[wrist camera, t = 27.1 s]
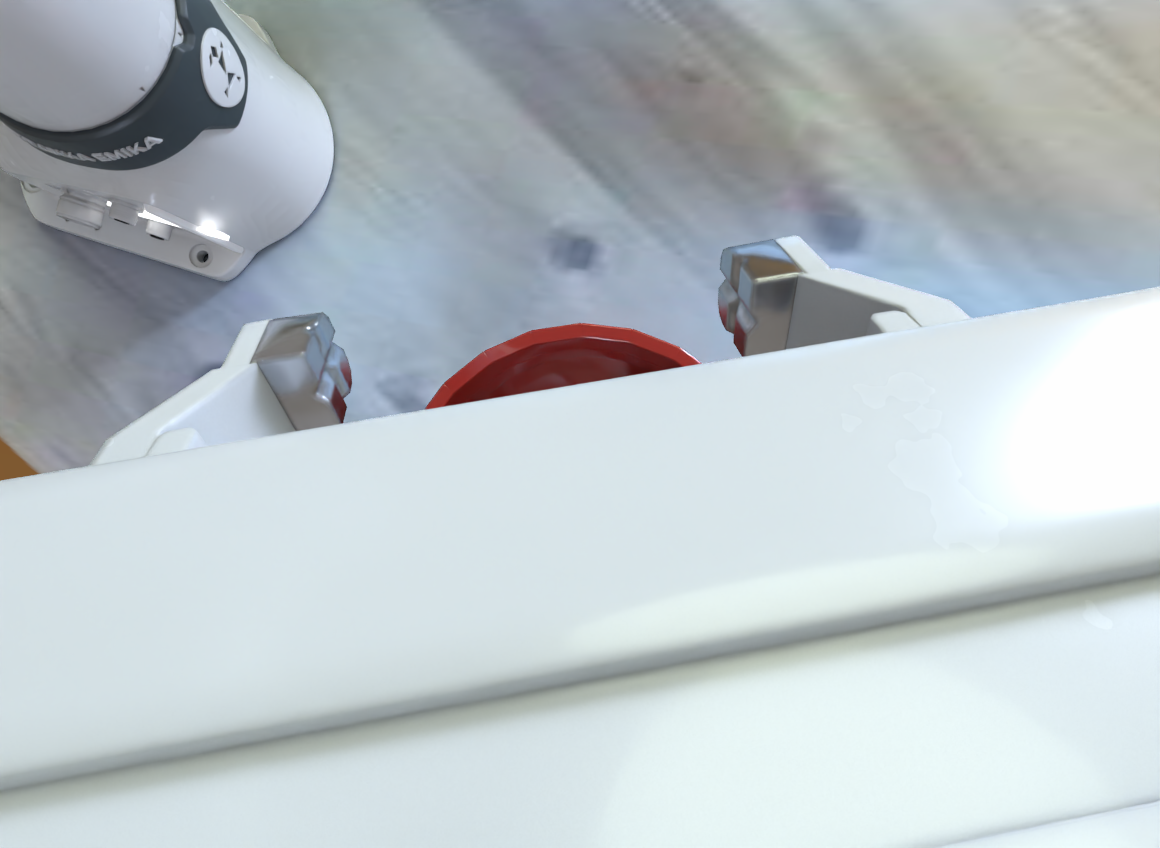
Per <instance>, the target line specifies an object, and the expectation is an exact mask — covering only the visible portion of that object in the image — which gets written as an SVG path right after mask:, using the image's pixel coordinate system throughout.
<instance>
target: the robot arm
mask: <svg viewBox="0 0 1160 848" xmlns="http://www.w3.org/2000/svg"><path fill="white" fill-rule="evenodd" d="M333 158H334V141H333V133H332V128H331V124H330V120H329V117H328V114H327V112H326V109H325V107H324V105H323V103H322V101H321V100H320V98H319V96H318V95H317V93H316V92H315V90H314V89H313V88H312V87H311V85H310V84H309V83H308V82H307V81H306V80H305V79H304V78H303V77H302V76H301V75H300V74H298V73H297V72H296V71H295V70H294V69H292V68H291V67H290V66H289V65H288V64H287V63H285V62H284V61H283V60H282V58H281V57H280V56H279V54H278V52H277V50H276V48H275V46H274V44H273V42H272V40H271V38H270V37H269V35H268V33H267V32H266V30H265V29H264V28H263V27H262V26H261V25H260V24H259V23H258V22H257V21H256V20H255V19H254V18H252V17H251V16H249V15H244V14H239V15H237V14H236V13H235V12H234V11H233V10H232V9H231V8H230V7H229V6H228V5H226V4H225V3H224V2H223V1H222V0H0V167H1V168H2V169H3V170H4V171H5V172H6V173H8V174H10V175H12V176H14V177H16V178H18V179H20V183H21V188H22V191H23V195H24V198H25V200H26V203H27V205H28V207H29V209H30V211H31V213H32V215H33V217H34V218H35V219H36V220H38V221H40V222H42V223H44V224H46V225H48V226H50V227H52V228H55V229H58V230H61V231H64V232H67V233H70V234H74V235H77V236H80V237H83V238H86V239H89V240H92V241H96V242H99V243H102V244H105V245H108V246H111V247H115V248H118V249H121V250H124V251H127V252H130V253H133V254H137V255H140V256H143V257H146V258H149V259H152V260H155V261H159V262H162V263H165V264H168V265H171V266H174V267H178V268H181V269H184V270H187V271H190V272H193V273H196V274H200V275H203V276H206V277H209V278H212V279H215V280H219V281H229V280H231V279H233V278H235V277H236V276H237V275H238V274H240V273H241V272H242V270H243V269H244V268H245V267H246V266H247V265H248V264H249V262H250V261H251V260H252V259H253V257H254V256H255V255H256V253H258V252H259V251H260V250H262V249H263V248H265V247H267V246H268V245H270V244H272V243H274V242H276V241H278V240H280V239H282V238H284V237H285V236H287V235H288V234H290V233H291V232H293V231H294V230H295V229H296V228H298V227H299V226H300V225H301V224H302V223H303V222H304V221H305V220H306V219H307V218H308V217H309V216H310V215H311V213H312V212H313V211H314V209H315V208H316V207H317V205H318V203H319V202H320V200H321V198H322V196H323V194H324V192H325V190H326V188H327V185H328V182H329V179H330V176H331V171H332V166H333ZM206 254H208V255H209V257H208V260H207V261H206V262H204V261H203V257H204V256H205V255H206ZM720 270H721V271H722V273H723V274H724V276H725V277H726V279H725V280H724V282H723V283H722V285H721V286H720V287H719V293H718V305H719V313H720V317H721V320H722V323H723V325H724V327H725V329H726V331H729V332H731V333H733V334H734V344H735V346H736V347H737V349H738V351H739V352H740V354H741V355H742V357H738V358H733V359H727V360H721V361H715V362H709V363H703V364H697V365H691V366H685V367H679V368H673V369H667V370H661V371H655V372H649V373H643V374H637V375H631V376H625V377H619V378H613V379H607V380H601V381H595V382H589V383H583V384H577V385H571V386H565V387H559V388H553V389H547V390H541V391H535V392H529V393H523V394H517V395H511V396H505V397H499V398H493V399H487V400H481V401H475V402H469V403H463V404H457V405H451V406H445V407H439V408H433V409H427V410H421V411H415V412H409V413H403V414H397V415H391V416H385V417H379V418H373V419H367V420H361V421H355V422H349V423H343V420H344V416H345V412H346V408H347V406H346V404H345V402H344V400H343V399H344V398H345V397H346V396H347V395H348V394H349V393H350V390H351V385H352V379H351V369H350V366H349V362H348V359H347V357H346V354H345V352H344V350H343V349H342V348H341V347H339V346H338V345H336V344H335V343H333V342H332V340H333V337H334V333H335V330H334V328H333V326H332V324H331V321H330V319H329V317H328V316H327V315H325V314H324V313H323V312H321V313H314V314H306V315H299V316H292V317H285V318H278V319H273V320H272V319H268V320H262V321H257V322H252V323H247V324H244V325H243V327H242V329H241V331H240V332H239V334H238V336H237V338H236V340H235V342H234V344H233V346H232V348H231V350H230V351H229V353H228V355H227V357H226V359H225V361H224V363H223V365H222V367H221V368H220V369H214V370H211V371H210V372H208V373H207V374H205V375H204V376H202V377H201V378H199V379H198V380H196V381H195V382H193V383H192V384H190V385H189V386H187V387H185V388H184V389H182V390H181V391H179V392H178V393H176V394H175V395H173V396H172V397H170V398H169V399H167V400H166V401H164V402H163V403H161V404H160V405H158V406H157V407H155V408H153V409H152V410H150V411H149V412H147V413H146V414H144V415H143V416H141V417H140V418H138V419H137V420H135V421H134V422H132V423H131V424H129V425H128V426H126V427H125V428H123V429H121V430H120V431H118V432H117V433H115V434H114V435H112V436H111V437H109V438H108V439H106V441H105V442H104V444H103V445H102V447H101V448H100V450H99V451H98V453H97V454H96V456H95V458H94V459H93V461H92V462H91V464H90V465H89V466H86V467H80V468H74V469H68V470H62V471H56V472H50V473H44V474H38V475H32V476H26V477H20V478H15V479H8V480H2V481H0V848H1160V287H1155V288H1149V289H1144V290H1138V291H1132V292H1127V293H1121V294H1115V295H1109V296H1104V297H1098V298H1092V299H1085V300H1079V301H1073V302H1067V303H1061V304H1055V305H1049V306H1043V307H1037V308H1031V309H1025V310H1019V311H1013V312H1007V313H1001V314H995V315H989V316H983V317H977V318H971V317H969V316H968V315H967V314H966V313H965V312H963V311H962V310H961V309H960V308H959V307H958V306H956V305H955V304H954V303H953V302H952V301H950V300H948V299H944V298H941V297H937V296H934V295H930V294H927V293H923V292H920V291H916V290H913V289H909V288H906V287H902V286H899V285H895V284H892V283H889V282H885V281H882V280H878V279H875V278H871V277H868V276H864V275H861V274H857V273H854V272H850V271H847V270H843V269H840V268H837V269H831V268H830V267H829V266H828V265H827V264H826V263H825V262H824V261H823V260H822V259H821V258H820V257H819V256H818V255H817V254H816V253H815V252H814V251H813V250H812V249H811V248H810V247H809V246H808V245H807V244H806V243H805V242H804V241H803V240H802V239H801V238H800V237H799V236H789V237H784V238H780V239H775V240H774V239H772V240H766V241H761V242H755V243H750V244H745V245H739V246H734V247H728V248H726V249H724V250H723V252H722V256H721V263H720Z"/></svg>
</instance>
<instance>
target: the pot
mask: <svg viewBox="0 0 1160 848" xmlns="http://www.w3.org/2000/svg"><path fill="white" fill-rule="evenodd" d="M697 364H702V363H701V362H699V361H698V360H697V359H695V358H694V357H693V356H691V355H690V354H689V353H687V352H686V351H684V350H683V349H682V348H680V347H678V346H675V345H673V344H670V343H668V342H665V341H663V340H660V339H658V338H655V337H652V336H650V335H647V334H645V333H642V332H640V331H637V330H635V329H630V328H621V327H613V326H604V325H595V324H586V323H582V324H581V323H577V324H571V325H564V326H557V327H551V328H544V329H538V330H531V331H529V332H526V333H524V334H522V335H520V336H517V337H515V338H513V339H510V340H508V341H506V342H504V343H501V344H499V345H497V346H494V347H492V348H490V349H488V350H485V351H484V352H482V353H481V354H479V355H478V356H477V357H476V358H474V359H473V360H472V361H471V362H469V363H468V364H467V365H466V366H464V367H463V368H462V369H461V370H459V371H458V372H457V373H456V374H454V375H453V376H452V377H451V378H449V379H448V380H447V381H446V382H445V383H444V384H443V385H442V386H441V388H440V389H439V390H438V392H437V393H436V394H435V396H434V397H433V398H432V400H431V401H430V402H429V404H428V405H427V407H426V408H425V409H424V410H427V409H433V408H439V407H445V406H451V405H457V404H463V403H469V402H475V401H481V400H487V399H493V398H499V397H505V396H511V395H517V394H523V393H529V392H535V391H541V390H547V389H553V388H559V387H565V386H571V385H577V384H583V383H589V382H595V381H601V380H607V379H613V378H619V377H625V376H631V375H637V374H643V373H649V372H655V371H661V370H667V369H673V368H679V367H685V366H691V365H697Z"/></svg>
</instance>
